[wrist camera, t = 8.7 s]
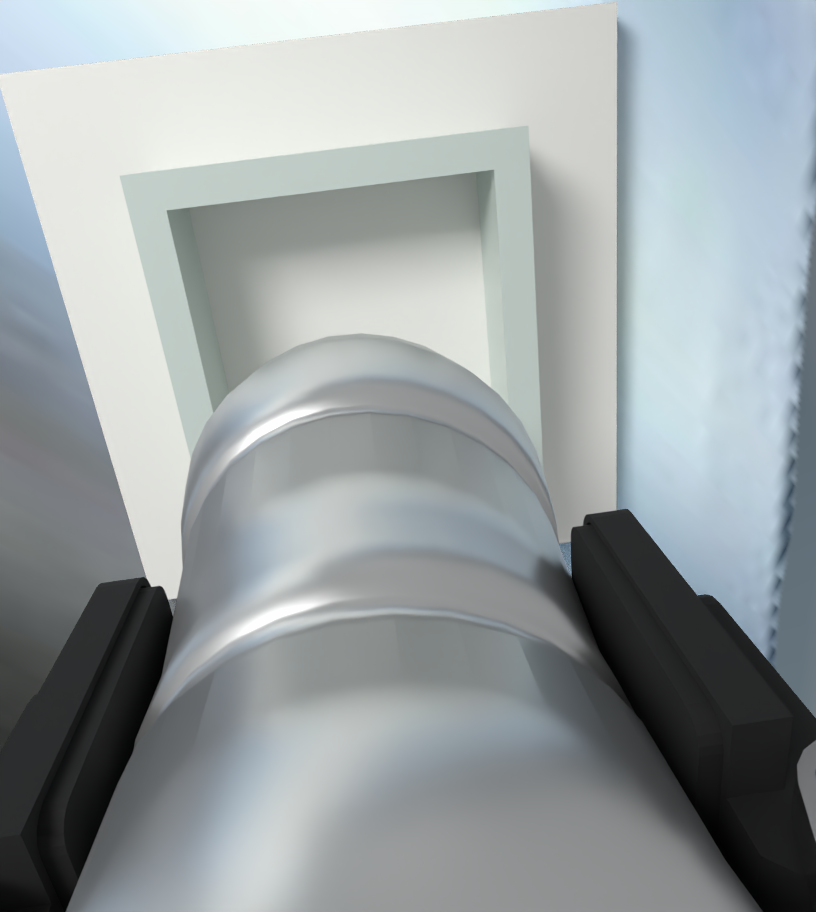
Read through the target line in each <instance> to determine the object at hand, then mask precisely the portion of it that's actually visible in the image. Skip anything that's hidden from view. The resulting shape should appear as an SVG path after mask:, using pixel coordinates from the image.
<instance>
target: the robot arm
mask: <svg viewBox="0 0 816 912" xmlns="http://www.w3.org/2000/svg"><path fill="white" fill-rule="evenodd" d="M571 565H572V580H573V583H574V585H575V588H576V591H577V593H578V596H579V598H580V601H581V604H582V606H583V609H584V612H585V614H586V617H587V619H588V622H589V625H590V627H591V630H592V632H593V635H594V638H595V640H596V643H597V645H598V648H599V651H600V653H601V654H602V656H603V658H604V659H605V661H606V662H607V664H608V666H609V667H610V669H611V671H612V672H613V674H614V676H615V677H616V679H617V681H618V682H619V684H620V686H621V688H622V689H623V691H624V693H625V695H626V697H627V699H628V700H629V702H630V704H631V706H632V708H633V710H634V712H635V713H636V715H637V716H638V718H639V719H640V720H641V721H642V722H643V724H644V725H645V727H646V729H647V730H648V732H649V734H650V735H651V737H652V739H653V740H654V742H655V744H656V745H657V747H658V749H659V750H660V752H661V754H662V755H663V757H664V759H665V760H666V762H667V764H668V765H669V767H670V769H671V770H672V772H673V774H674V775H675V777H676V779H677V780H678V782H679V784H680V785H681V787H682V789H683V790H684V792H685V793H686V795H687V797H688V798H689V800H690V802H691V803H692V805H693V807H694V808H695V810H696V812H697V813H698V815H699V817H700V818H701V820H702V822H703V823H704V825H705V827H706V828H707V830H708V832H709V833H710V835H711V837H712V838H713V840H714V842H715V843H716V845H717V847H718V848H719V850H720V852H721V853H722V855H723V857H724V858H725V860H726V861H727V863H728V864H729V866H730V867H731V868H732V870H733V871H734V872H735V874H736V875H737V877H738V878H739V879H740V881H741V882H742V883H743V885H744V886H745V888H746V889H747V890H748V892H749V893H750V894H751V896H752V897H753V899H754V900H755V901H756V903H757V904H758V905H759V907H760V908H761V910H762V911H763V912H816V718H815V717H814V716H813V715H812V713H811V712H810V711H809V710H808V709H807V707H806V706H805V705H804V704H803V703H802V702H801V700H800V699H799V698H798V697H797V695H796V694H795V693H794V692H793V691H792V689H791V688H790V687H789V686H788V685H787V683H786V682H785V681H784V680H783V679H782V678H781V676H780V675H779V674H778V673H777V671H776V670H775V669H774V668H773V666H772V665H771V664H770V663H769V662H768V660H767V659H766V658H765V657H764V656H763V654H762V653H761V652H760V651H759V650H758V648H757V647H756V646H755V645H754V644H753V642H752V641H751V640H750V639H749V638H748V636H747V635H746V634H745V633H744V632H743V630H742V629H741V628H740V627H739V626H738V624H737V623H736V622H735V621H734V620H733V618H732V617H731V616H730V615H729V614H728V612H727V611H726V610H725V609H724V607H723V606H722V605H721V604H720V603H719V602H718V601H717V600H716V599H715V598H714V597H713V596H710V595H706V594H705V595H698V596H697V595H696V593H695V592H694V591H693V590H692V588H691V587H690V586H689V585H688V583H687V582H686V581H685V580H684V578H683V577H682V576H681V575H680V573H679V572H678V571H677V570H676V568H675V567H674V566H673V565H672V563H671V562H670V561H669V559H668V558H667V557H666V556H665V554H664V553H663V552H662V551H661V549H660V548H659V547H658V546H657V544H656V543H655V542H654V541H653V539H652V538H651V537H650V536H649V534H648V533H647V532H646V531H645V529H644V528H643V527H642V525H641V524H640V523H639V522H638V520H637V519H636V518H635V517H634V515H633V514H632V513H631V512H630V511H629V510H628V509H623V510H615V511H608V512H601V513H594V514H587V515H586V516H585V517H584V521H583V526H577V527H573V528H572V530H571ZM172 621H173V616H172V612H171V609H170V605H169V602H168V598H167V595H166V592H165V590H164V589H163V587H161V586H154V587H151V585H150V583H149V581H148V580H147V579H146V578H144V577H141V578H134V579H127V580H120V581H113V582H106V583H101V584H99V585H98V587H97V588H96V590H95V591H94V593H93V595H92V597H91V599H90V600H89V602H88V604H87V606H86V608H85V610H84V611H83V613H82V615H81V617H80V619H79V620H78V622H77V624H76V626H75V628H74V629H73V631H72V633H71V635H70V637H69V639H68V640H67V642H66V644H65V646H64V648H63V649H62V651H61V653H60V655H59V657H58V658H57V660H56V662H55V664H54V666H53V668H52V669H51V671H50V673H49V675H48V677H47V678H46V680H45V682H44V684H43V686H42V687H41V689H40V691H39V693H38V694H36V695H34V696H33V698H32V699H31V700H30V702H29V703H28V704H27V706H26V708H25V710H24V711H23V713H22V715H21V717H20V719H19V720H18V722H17V724H16V726H15V727H14V729H13V731H12V733H11V735H10V736H9V738H8V740H7V742H6V743H5V745H4V747H3V749H2V751H1V752H0V912H66V910H67V907H68V905H69V902H70V900H71V897H72V895H73V892H74V890H75V887H76V885H77V882H78V880H79V877H80V875H81V873H82V870H83V868H84V865H85V863H86V860H87V858H88V855H89V853H90V850H91V848H92V845H93V843H94V840H95V838H96V835H97V833H98V831H99V828H100V826H101V823H102V821H103V818H104V816H105V813H106V811H107V808H108V806H109V803H110V801H111V798H112V796H113V793H114V791H115V789H116V786H117V784H118V782H119V780H120V778H121V776H122V774H123V772H124V770H125V768H126V765H127V763H128V761H129V759H130V757H131V755H132V753H133V749H134V744H135V739H136V737H137V734H138V732H139V730H140V727H141V725H142V722H143V720H144V717H145V715H146V713H147V710H148V708H149V705H150V703H151V700H152V698H153V696H154V693H155V691H156V688H157V686H158V683H159V681H160V679H161V676H162V671H163V666H164V661H165V656H166V651H167V646H168V641H169V636H170V631H171V626H172Z"/></svg>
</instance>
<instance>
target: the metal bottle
mask: <svg viewBox="0 0 816 912" xmlns="http://www.w3.org/2000/svg"><path fill="white" fill-rule="evenodd" d="M181 542H182V565H183V570H182V575H181V580H180V586H179V591H178V596H177V601H176V606H175V611H174V616H173V621H172V626H171V631H170V636H169V641H168V646H167V651H166V656H165V661H164V666H163V671H162V676H161V679H160V681H159V683H158V686H157V688H156V691H155V693H154V696H153V698H152V700H151V703H150V705H149V708H148V710H147V713H146V715H145V717H144V720H143V722H142V725H141V727H140V730H139V732H138V734H137V737H136V739H135V744H134V749H133V753H132V755H131V757H130V759H129V761H128V763H127V765H126V768H125V770H124V772H123V774H122V776H121V778H120V780H119V782H118V784H117V786H116V789H115V791H114V793H113V796H112V798H111V801H110V803H109V806H108V808H107V811H106V813H105V816H104V818H103V821H102V823H101V826H100V828H99V831H98V833H97V835H96V838H95V840H94V843H93V845H92V848H91V850H90V853H89V855H88V858H87V860H86V863H85V865H84V868H83V870H82V873H81V875H80V877H79V880H78V882H77V885H76V887H75V890H74V892H73V895H72V897H71V900H70V902H69V905H68V907H67V910H66V912H763V911H762V910H761V908H760V907H759V905H758V904H757V903H756V901H755V900H754V899H753V897H752V896H751V894H750V893H749V892H748V890H747V889H746V888H745V886H744V885H743V883H742V882H741V881H740V879H739V878H738V877H737V875H736V874H735V872H734V871H733V870H732V868H731V867H730V866H729V864H728V863H727V861H726V860H725V858H724V857H723V855H722V853H721V852H720V850H719V848H718V847H717V845H716V843H715V842H714V840H713V838H712V837H711V835H710V833H709V832H708V830H707V828H706V827H705V825H704V823H703V822H702V820H701V818H700V817H699V815H698V813H697V812H696V810H695V808H694V807H693V805H692V803H691V802H690V800H689V798H688V797H687V795H686V793H685V792H684V790H683V789H682V787H681V785H680V784H679V782H678V780H677V779H676V777H675V775H674V774H673V772H672V770H671V769H670V767H669V765H668V764H667V762H666V760H665V759H664V757H663V755H662V754H661V752H660V750H659V749H658V747H657V745H656V744H655V742H654V740H653V739H652V737H651V735H650V734H649V732H648V730H647V729H646V727H645V725H644V724H643V722H642V721H641V720H640V719H639V718H638V716H637V715H636V713H635V712H634V710H633V708H632V706H631V704H630V702H629V700H628V699H627V697H626V695H625V693H624V691H623V689H622V688H621V686H620V684H619V682H618V681H617V679H616V677H615V676H614V674H613V672H612V671H611V669H610V667H609V666H608V664H607V662H606V661H605V659H604V658H603V656H602V654H601V653H600V651H599V648H598V645H597V643H596V640H595V638H594V635H593V632H592V630H591V627H590V625H589V622H588V619H587V617H586V614H585V612H584V609H583V606H582V604H581V601H580V598H579V596H578V593H577V591H576V588H575V585H574V583H573V580H572V578H571V575H570V572H569V570H568V567H567V564H566V562H565V559H564V557H563V554H562V551H561V549H560V546H559V539H558V531H557V524H556V517H555V513H554V509H553V505H552V502H551V498H550V494H549V490H548V486H547V483H546V480H545V477H544V473H543V470H542V467H541V464H540V461H539V457H538V454H537V451H536V449H535V447H534V445H533V443H532V441H531V439H530V437H529V436H528V434H527V432H526V430H525V428H524V426H523V424H522V422H521V421H520V419H519V418H518V417H517V416H516V414H515V413H514V412H513V411H512V410H511V408H510V407H509V406H508V405H507V403H506V402H505V401H504V400H503V399H502V397H501V396H500V395H499V394H498V393H497V392H495V391H494V390H493V389H492V388H491V387H489V386H488V385H487V384H486V383H484V382H483V381H482V380H481V379H479V378H478V377H477V376H476V375H475V374H473V373H472V372H471V371H469V370H467V369H466V368H464V367H462V366H461V365H459V364H457V363H456V362H454V361H452V360H450V359H449V358H447V357H445V356H443V355H441V354H439V353H437V352H435V351H433V350H432V349H430V348H428V347H426V346H423V345H420V344H417V343H413V342H410V341H407V340H403V339H400V338H397V337H393V336H383V335H373V334H363V333H359V334H348V335H337V336H328V337H324V338H321V339H318V340H314V341H311V342H308V343H304V344H301V345H298V346H296V347H294V348H292V349H290V350H288V351H286V352H284V353H283V354H281V355H279V356H277V357H275V358H273V359H271V360H269V361H268V362H267V363H265V364H264V365H263V366H262V367H260V368H259V369H258V370H256V371H255V372H254V373H253V374H251V375H250V376H249V377H248V378H247V379H246V380H244V381H243V382H242V383H241V384H240V385H238V386H237V387H236V388H235V389H234V390H233V391H231V392H230V393H229V394H228V395H227V396H226V397H225V398H224V400H223V401H222V402H221V404H220V405H219V406H218V408H217V409H216V410H215V412H214V413H213V414H212V416H211V417H210V418H209V420H208V421H207V422H206V424H205V426H204V428H203V430H202V433H201V435H200V437H199V439H198V442H197V444H196V446H195V448H194V451H193V453H192V456H191V461H190V466H189V471H188V477H187V482H186V487H185V495H184V502H183V510H182V518H181Z"/></svg>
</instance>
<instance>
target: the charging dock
mask: <svg viewBox="0 0 816 912" xmlns="http://www.w3.org/2000/svg"><path fill="white" fill-rule="evenodd" d="M0 88H1V92H2V95H3V98H4V102H5V105H6V108H7V112H8V115H9V118H10V122H11V125H12V129H13V132H14V135H15V139H16V142H17V145H18V149H19V152H20V155H21V159H22V162H23V165H24V169H25V172H26V175H27V179H28V182H29V185H30V189H31V192H32V195H33V199H34V202H35V206H36V209H37V212H38V216H39V219H40V222H41V226H42V229H43V232H44V236H45V239H46V242H47V246H48V249H49V252H50V256H51V259H52V262H53V266H54V269H55V272H56V276H57V279H58V283H59V286H60V289H61V293H62V296H63V299H64V303H65V306H66V309H67V313H68V316H69V319H70V323H71V326H72V329H73V333H74V336H75V339H76V343H77V346H78V349H79V353H80V356H81V360H82V363H83V366H84V370H85V373H86V376H87V380H88V383H89V386H90V390H91V393H92V396H93V400H94V403H95V406H96V410H97V413H98V416H99V420H100V423H101V426H102V430H103V433H104V437H105V440H106V443H107V447H108V450H109V453H110V457H111V460H112V463H113V467H114V470H115V473H116V477H117V480H118V483H119V487H120V490H121V493H122V497H123V500H124V503H125V507H126V510H127V513H128V517H129V520H130V524H131V527H132V530H133V534H134V537H135V540H136V544H137V547H138V550H139V554H140V557H141V560H142V564H143V567H144V570H145V574H146V577H147V580H148V581H149V583H150V585H151V587H154V586H161V587H163V589H164V590H165V592H166V595H167V598H168V600H169V599H176V598H177V596H178V591H179V586H180V580H181V575H182V570H183V565H182V542H181V518H182V510H183V502H184V495H185V487H186V482H187V477H188V471H189V466H190V461H191V456H192V453H193V451H194V448H195V446H196V444H197V442H198V439H199V437H200V435H201V433H202V430H203V428H204V426H205V424H206V422H207V421H208V420H209V418H210V417H211V416H212V414H213V413H214V412H215V410H216V409H217V408H218V406H219V405H220V404H221V402H222V401H223V400H224V398H225V397H226V396H227V395H228V394H229V393H230V392H231V391H233V390H234V389H235V388H236V387H237V386H238V385H240V384H241V383H242V382H243V381H244V380H246V379H247V378H248V377H249V376H250V375H251V374H253V373H254V372H255V371H256V370H258V369H259V368H260V367H262V366H263V365H264V364H265V363H267V362H268V361H269V360H271V359H273V358H275V357H277V356H279V355H281V354H283V353H284V352H286V351H288V350H290V349H292V348H294V347H296V346H298V345H301V344H304V343H308V342H311V341H314V340H318V339H321V338H324V337H328V336H337V335H348V334H359V333H363V334H373V335H383V336H393V337H397V338H400V339H403V340H407V341H410V342H413V343H417V344H420V345H423V346H426V347H428V348H430V349H432V350H433V351H435V352H437V353H439V354H441V355H443V356H445V357H447V358H449V359H450V360H452V361H454V362H456V363H457V364H459V365H461V366H462V367H464V368H466V369H467V370H469V371H471V372H472V373H473V374H475V375H476V376H477V377H478V378H479V379H481V380H482V381H483V382H484V383H486V384H487V385H488V386H489V387H491V388H492V389H493V390H494V391H495V392H497V393H498V394H499V395H500V396H501V397H502V399H503V400H504V401H505V402H506V403H507V405H508V406H509V407H510V408H511V410H512V411H513V412H514V413H515V414H516V416H517V417H518V418H519V419H520V421H521V422H522V424H523V426H524V428H525V430H526V432H527V434H528V436H529V437H530V439H531V441H532V443H533V445H534V447H535V449H536V451H537V454H538V457H539V461H540V464H541V467H542V470H543V473H544V477H545V480H546V483H547V486H548V490H549V494H550V498H551V502H552V505H553V509H554V513H555V517H556V524H557V531H558V539H559V544H560V543H567V542H571V530H572V528H573V527H577V526H583V521H584V517H585V516H586V515H587V514H594V513H601V512H608V511H615V510H616V482H617V2H611V3H603V4H594V5H586V6H577V7H569V8H560V9H551V10H543V11H534V12H526V13H517V14H509V15H500V16H492V17H483V18H475V19H466V20H457V21H449V22H440V23H432V24H423V25H415V26H406V27H398V28H389V29H380V30H372V31H363V32H355V33H346V34H338V35H329V36H321V37H312V38H304V39H295V40H286V41H278V42H269V43H261V44H252V45H244V46H235V47H227V48H218V49H210V50H201V51H192V52H184V53H175V54H167V55H158V56H150V57H141V58H133V59H124V60H116V61H107V62H98V63H90V64H81V65H73V66H64V67H56V68H47V69H39V70H30V71H22V72H13V73H4V74H0Z"/></svg>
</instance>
